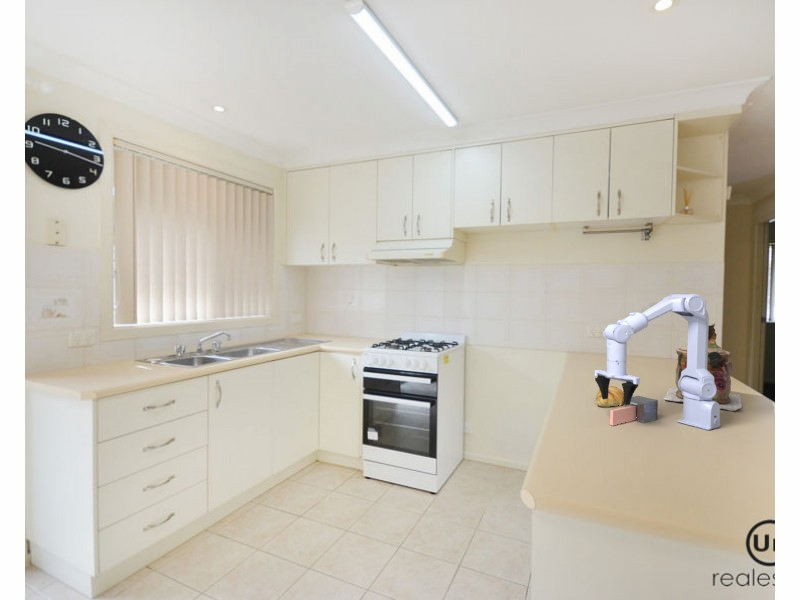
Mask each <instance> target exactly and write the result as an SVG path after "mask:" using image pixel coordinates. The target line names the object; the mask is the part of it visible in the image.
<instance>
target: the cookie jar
mask: <svg viewBox="0 0 800 600" xmlns="http://www.w3.org/2000/svg"><path fill="white" fill-rule="evenodd" d="M715 326H716V323H712V324H709V326H708V357H707V370H708V371H709V372H710V373H711V374H712V375H713V377H714V383H715V385H716V388H717V392H716V395H715V396H714V397H713V398H712V401H715V402H717V403H719V406H720V410H727V411H731V412H733V411H737V410H741V409H742V407H743V406H742V405H743V404H742V401H741V395H742V394H741V395H740V394H733V393H732V394H730V393H731V389H732V388H731V387H732V380H731V374H732V373H733V363H732V361H729V358H730V357H731V354H732V353H731V352H730V351H728V350H724V349H723V348H722V347H721V346H719V345H718V344H717V341H716V339H717V333H716V329H715ZM675 351H676V352H675V353H676V354H677V364H676V365H677V366H676V368H675V386H676V387H672V386H671V387H669V390H668V391H667V392H666V395H665V396H664V397H663V399H664V401H671V402H680V403H681V402H682V403H683V396H684V395H682V391H681V390H680V389H679V387H678V382H679V379H680V377H681V372H682V371H683V370H684V369H686V368H687V345H684V346H681V347H678V348H676V349H675Z"/></svg>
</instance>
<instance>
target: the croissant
mask: <svg viewBox="0 0 800 600" xmlns="http://www.w3.org/2000/svg"><path fill="white" fill-rule="evenodd" d="M595 395H596V397H595V399H596V405H597V406H599V407H601V408H602V407H603V408H605V407H606V408H608V407H609V408H610V406H615V407H621V406H622V405H623V404H624V392H623V389H620V388H618V386H613V385H611V386H610V385H609V390H608V399H602V395H601V391H600V388H599V389H598V390H597V392H595ZM618 405H619V406H618Z"/></svg>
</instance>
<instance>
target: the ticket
mask: <svg viewBox="0 0 800 600" xmlns="http://www.w3.org/2000/svg"><path fill="white" fill-rule="evenodd" d="M636 409H637V406H635V405H633V406H628V407H625V406H624V407H620V408H615V409H611V410H609V411H610V412H609V425H610V426H616V425H617V424H618V425H621V423H622V424H625V422H626V423H629V422H634V421H637V418H636Z"/></svg>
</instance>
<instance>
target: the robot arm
mask: <svg viewBox="0 0 800 600" xmlns="http://www.w3.org/2000/svg"><path fill="white" fill-rule="evenodd" d="M669 312H672V313H674V314H677V315H679V316H681V317H682V318H683V319H685V320H686V321H687V344H686V346H687V368H686V369H684V370H683V371H682V372H681V377H680V379H679V382H678V387H679V389H680V390H681V391H682V395H684V396H683V402H682V403H683V404H682V406H683V407H682V408H683V410H682V418H681V419H678V420H677V421H676V422H677V423H681V424H684V425H688V426H691V427H696V428H698V429H703V430H706V431H711V430H713V429H718V428H720V427H721V423H720V420H721V417H720V416H721V414H720V413H721V409H720V406H719V403H717V402H715V401H712V398H713V397H714V396H715V395H716V392H717V388H716V385H715V383H714V377H713V375H712V374H711V373H710V372H709V371H708V370H707V357H708V326H709V325H710V323H709V321H710V317H709V313H708V311H707V300H706V299H705V298H704V297H702V296H701V295H700V294H698V293H690V294H687V293H680V294H679V293H671V294H669V295H668V296H665V297H663V299H662V300H660V301H659V302H657V303H656V304H654V305H652V306H651V307H649V308H647V309H646V310H644V311H643V312H636V311H635V312H630V313H628V314H629V315H628V316H626V317H625V318H623V319H619V320H617V321H616V323H610V324H608V325H607V326H606V327H605V329H604V331H603V332H602V335H603V337H604V339H605V340H606V370H601V369H595V370H594V377H595V378H594V380H595V382H596V384H597V386H598V388H599V389H600V391H601V395H602V399H608V390H609V386H610V381H611V380H615V381H620V382H621V387H622V391H623V393H624V402H623V404H624V406H625V405H629V404H630V402H631V398H632V397H634V393H635V391H636V390H637V388H638V387H639V385H640V384H641V380H640V379H641V377H638V376H634V375H631V374H627V348H628V346H627V343H628V342H629V341H630V340H631V338H632V337H633V335H635V334H637V333H638V332H641V331H642V330H644V329H646V328H647V327H648V325H649V322H651V321H652V320H655V319H657V318H659V317H662V316H664V315H665V314H667V313H669ZM622 382H623V383H622Z"/></svg>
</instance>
